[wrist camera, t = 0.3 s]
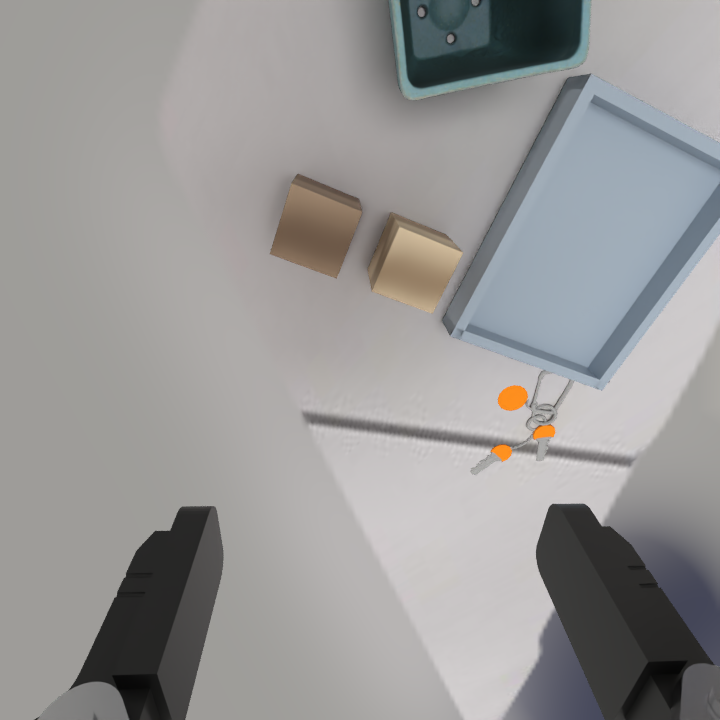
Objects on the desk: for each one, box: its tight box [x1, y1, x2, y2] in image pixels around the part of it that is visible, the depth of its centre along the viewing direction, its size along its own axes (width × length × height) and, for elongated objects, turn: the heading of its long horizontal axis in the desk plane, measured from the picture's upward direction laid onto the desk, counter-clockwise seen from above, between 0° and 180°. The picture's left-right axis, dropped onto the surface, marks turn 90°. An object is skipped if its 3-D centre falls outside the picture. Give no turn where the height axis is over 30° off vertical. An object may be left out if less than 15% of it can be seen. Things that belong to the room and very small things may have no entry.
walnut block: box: [270, 174, 362, 278], centre depth 30 cm, size 4×4×5 cm
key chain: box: [471, 370, 574, 475], centre depth 42 cm, size 13×7×1 cm, turn 169°
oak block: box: [368, 212, 463, 314], centre depth 32 cm, size 4×4×5 cm
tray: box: [442, 74, 720, 391], centre depth 33 cm, size 18×14×3 cm
